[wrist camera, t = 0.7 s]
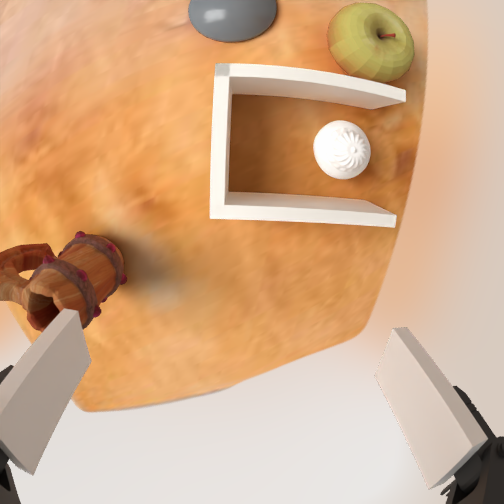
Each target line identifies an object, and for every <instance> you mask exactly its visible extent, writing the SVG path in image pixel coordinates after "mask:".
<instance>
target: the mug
mask: <svg viewBox="0 0 504 504" xmlns="http://www.w3.org/2000/svg"><path fill="white" fill-rule="evenodd" d="M35 269H36V270H35ZM27 270H35V271H34V273H33V275H32V277H30V279H29V280H26V279H24V278H22V277H20V276H19V274H18V273H20V272H22V271H27ZM123 273H124V260H123V257H122V254H121V252H120V251H119V249H118V248H117V246H116V245H114V244H113V243H112V242H110V241H109V240H107V239H106V238H104V237H100V236H96V235H88V234H85V233H84V232H82V231H79V232H77V233H76V235H75V238H74V239H73V240H72V241H71V242H69V243H68V244H67V245H66V246H65V248H64V249H63V251H61V252H60V253H59V255H58V258H57V257H56V256H55V255H54V253H53V252H52V250H51V247H50V246H49V245H48V244H47V243H45V244H29V245H20V246H16V247H13V248H10V249H7V250H5V251H3V252H1V253H0V301H13V302H16V303H18V304H20V305H22V306H23V309H25V310H26V311H27V320H28V321H29V323H30V324H31V326H32V327H33V328H34V329H36V330H39V331H41V332H43V331H44V330H45V329H46V328H47V327H48V325H49V324H50V323H51V322H52V321H53V320H54V319H55V318H56V316H57V315H58V314H59V313H60V312H61V311H62V310H63V309H70V310H76V311H78V313H79V317H80V321H81V325H82V329H84V328H86V327H87V326H88V325H89V324H90V322H91V321H92V319H93V318H94V317H98V316H99V315H100V313H101V309H100V307H99V305H100V303H101V302H102V303H103V302H105V301H106V300H107V297H109V296H110V295H112V294H113V293H114V292H115V291H116V289H117V288H118V286H119V285H120V284H121V285H122V284H125V283H126V281H127V277H126V275H125V274H123Z"/></svg>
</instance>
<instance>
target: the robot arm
mask: <svg viewBox="0 0 504 504" xmlns="http://www.w3.org/2000/svg"><path fill="white" fill-rule="evenodd" d="M90 363H91V358H90V355H89V351H88V348H87V344H86V341H85V337H84V333H83V329H82V325H81V321H80V317H79V313H78V311H76V310H70V309H63V310H62V311H61V312H60V313H59V314H58V315H57V316H56V318H55V319H54V320H53V321H52V322H51V323H50V324H49V325H48V327H47V328H46V329H45V330H44V331H43V332H42V333H41V335H40V336H39V337H38V338H37V339H36V340H35V342H34V343H33V344H32V345H31V346H30V348H29V349H28V350H27V351H26V352H25V353H24V355H23V356H22V357H21V359H20V360H19V361H18V362H17V363H16V365H15V366H12V365H10V366H9V367H7V368H6V369H4V370H3V371H1V372H0V504H21V503H20V500H19V497H18V494H17V491H16V487H15V484H14V480H13V477H12V473H11V469H10V467H9V465H8V464H7V462H8V460H9V459H10V460H11V461H12V462H13V463H14V464H15V465H16V466H17V467H18V468H20V469H22V470H24V471H25V472H28V473H29V474H31V475H34V473H35V470H36V468H37V466H38V463H39V461H40V459H41V457H42V455H43V452H44V450H45V448H46V446H47V444H48V442H49V440H50V438H51V436H52V433H53V432H54V430H55V428H56V426H57V424H58V422H59V420H60V418H61V416H62V414H63V412H64V410H65V408H66V406H67V404H68V402H69V400H70V399H71V397H72V395H73V393H74V391H75V390H76V388H77V386H78V384H79V382H80V381H81V379H82V377H83V375H84V373H85V372H86V370H87V368H88V367H89V365H90ZM374 376H375V378H376V380H377V382H378V384H379V386H380V388H381V390H382V392H383V393H384V396H385V397H386V399H387V402H388V403H389V406H390V408H391V409H392V412H393V413H394V416H395V417H396V419H397V422H398V424H399V426H400V428H401V430H402V432H403V434H404V436H405V438H406V440H407V442H408V445H409V447H410V449H411V451H412V453H413V456H414V458H415V460H416V462H417V464H418V467H419V469H420V471H421V473H422V476H423V478H424V480H425V482H426V485H427V487H428V489H431V488H434V487H436V486H438V485H441V484H443V483H445V482H446V481H447V480H448V479H449V478H450V477H451V476H453V475H454V476H455V478H456V479H455V480H454V481H453V482H452V483H451V484H450V485H448V486H447V487H446V488H445V489H444V490H443V491H442V492H441V495H443V494H445V493H446V492H447V491H448V490H449V489H450V492H449V493H448V494H447V495H446V496H448V498H447V501H446V504H504V437H498V438H497V437H496V436H495V435H494V434H493V432H492V431H491V429H490V428H489V426H488V425H487V423H486V422H485V420H484V419H483V417H482V416H481V414H480V413H479V411H477V410H476V407H475V406H474V404H472V403H471V400H470V399H469V397H468V396H467V395H466V393H465V392H463V391H462V390H461V389H459V388H458V387H457V386H453V387H452V385H451V384H450V383H449V381H448V380H447V378H446V377H445V376H444V374H443V373H442V372H441V370H440V369H439V368H438V366H437V365H436V364H435V362H434V361H433V360H432V358H431V357H430V356H429V354H428V353H427V352H426V351H425V349H424V348H423V347H422V346H421V344H420V343H419V342H418V340H417V339H416V338H415V337H414V335H413V334H412V333H411V332H410V330H409V329H408V328H407V327H404V328H393V329H392V332H391V335H390V338H389V340H388V343H387V346H386V348H385V351H384V353H383V356H382V358H381V361H380V363H379V366H378V368H377V370H376V373H375V375H374Z"/></svg>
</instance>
